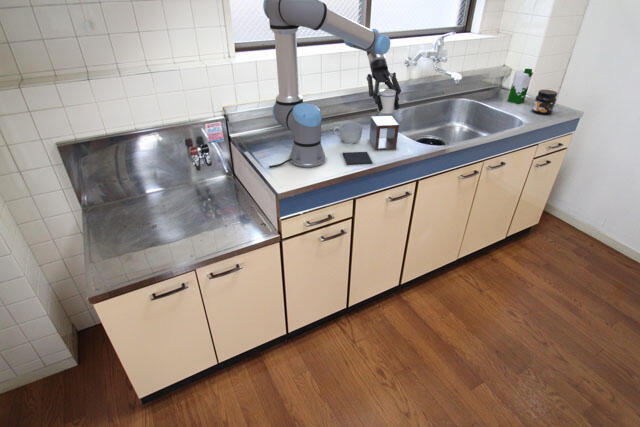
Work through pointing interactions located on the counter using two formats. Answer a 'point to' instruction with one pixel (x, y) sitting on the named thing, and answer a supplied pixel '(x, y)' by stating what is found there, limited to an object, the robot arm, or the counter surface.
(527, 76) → the milk carton
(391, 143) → the shelf
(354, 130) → the teacup
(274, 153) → the counter surface
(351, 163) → the mat
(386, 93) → the cup
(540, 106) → the supplement container
